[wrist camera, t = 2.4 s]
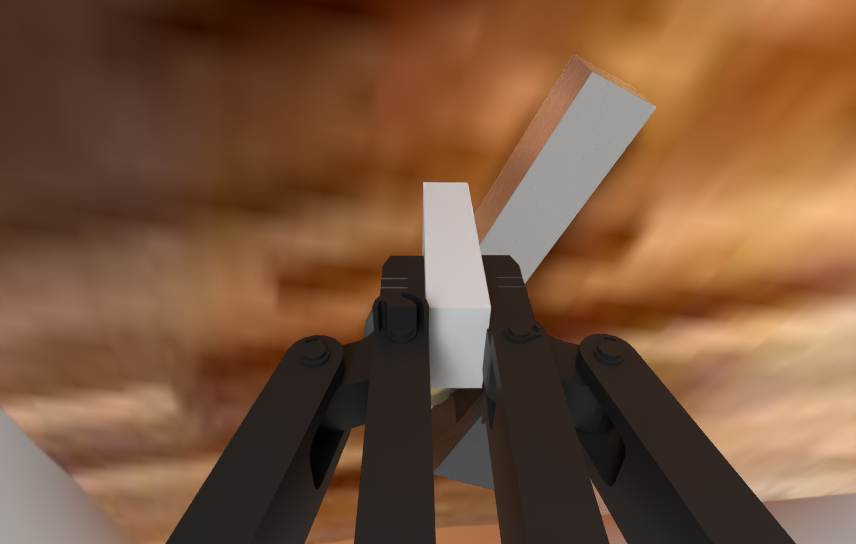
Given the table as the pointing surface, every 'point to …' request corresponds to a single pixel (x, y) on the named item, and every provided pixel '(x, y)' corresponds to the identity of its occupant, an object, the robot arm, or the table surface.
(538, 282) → the table surface
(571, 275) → the table surface
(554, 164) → the link
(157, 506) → the table surface
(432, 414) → the keeper bracket
